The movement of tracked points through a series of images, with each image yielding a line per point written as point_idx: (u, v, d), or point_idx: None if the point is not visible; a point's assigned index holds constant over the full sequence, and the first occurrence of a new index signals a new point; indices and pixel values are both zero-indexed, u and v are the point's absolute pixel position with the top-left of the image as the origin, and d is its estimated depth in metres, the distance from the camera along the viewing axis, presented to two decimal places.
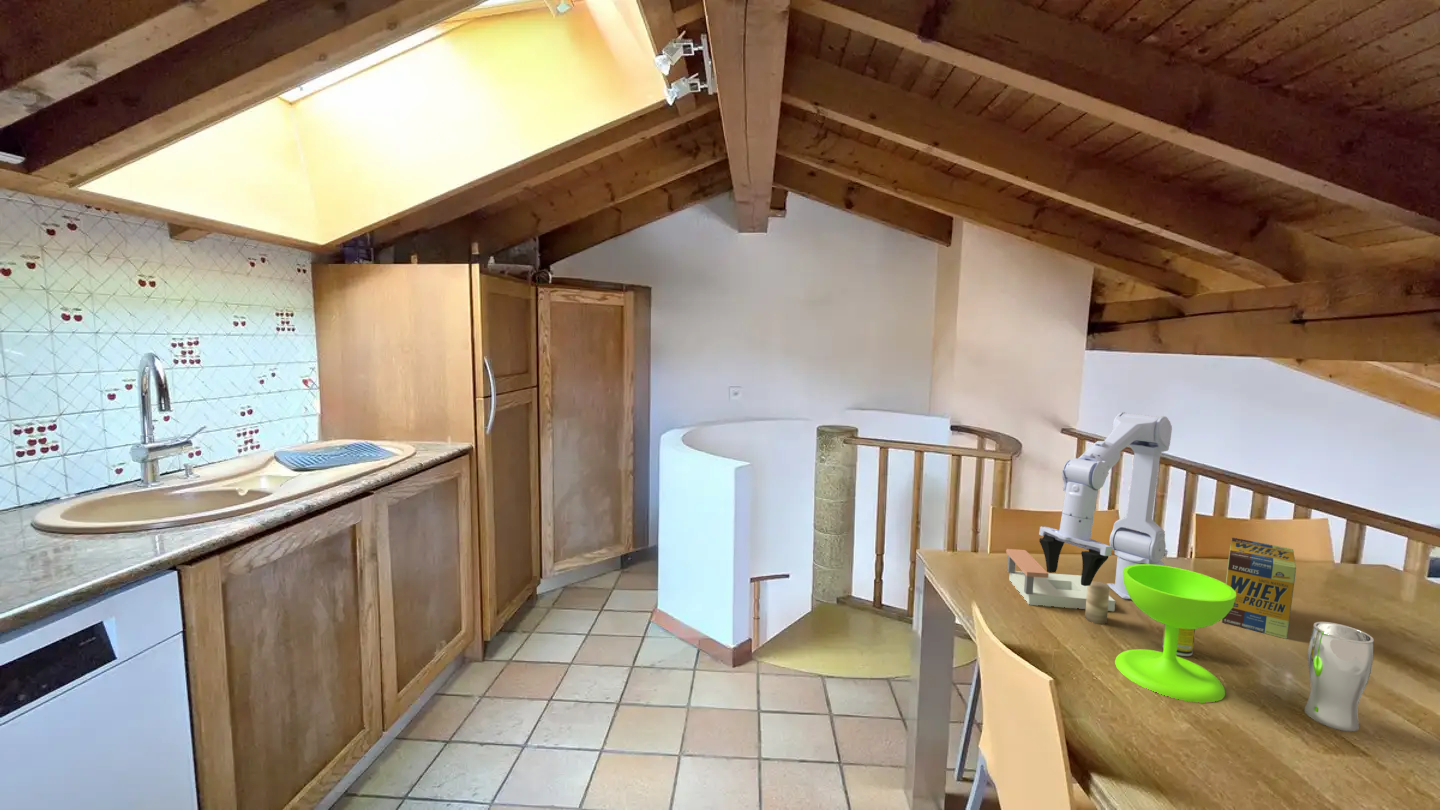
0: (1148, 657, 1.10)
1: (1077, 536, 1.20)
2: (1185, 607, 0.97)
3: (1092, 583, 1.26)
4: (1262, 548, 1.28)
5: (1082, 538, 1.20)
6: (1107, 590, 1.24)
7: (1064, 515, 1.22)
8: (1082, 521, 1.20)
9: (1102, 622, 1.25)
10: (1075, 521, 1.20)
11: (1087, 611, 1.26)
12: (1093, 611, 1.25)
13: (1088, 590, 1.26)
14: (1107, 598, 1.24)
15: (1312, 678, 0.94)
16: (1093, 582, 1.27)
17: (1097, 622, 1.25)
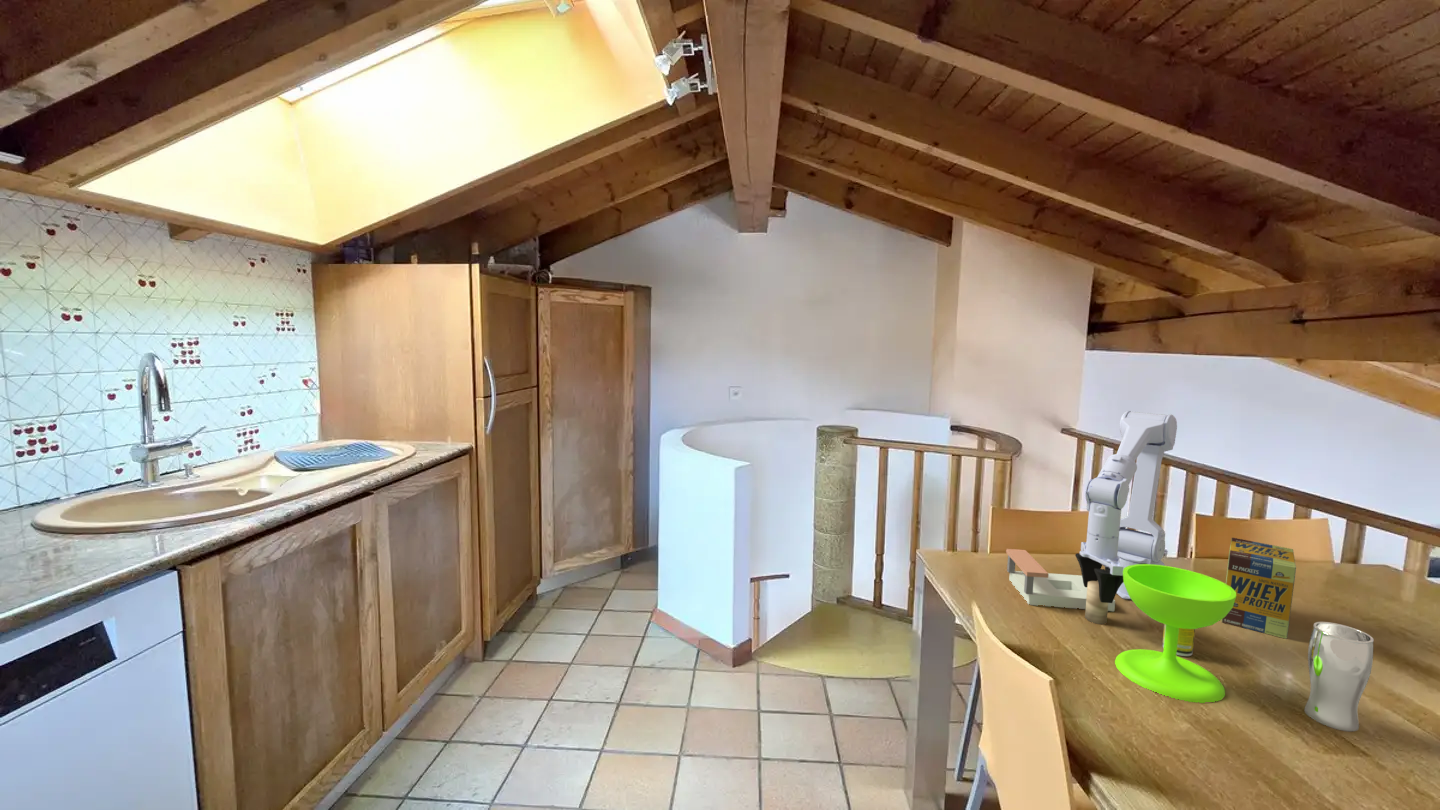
0: (1148, 657, 1.10)
1: (1095, 553, 1.23)
2: (1185, 607, 0.97)
3: (1092, 583, 1.26)
4: (1262, 548, 1.28)
5: (1100, 556, 1.23)
6: None
7: (1087, 532, 1.26)
8: (1099, 539, 1.23)
9: (1102, 622, 1.25)
10: (1092, 539, 1.24)
11: (1087, 611, 1.26)
12: (1093, 611, 1.25)
13: (1088, 590, 1.26)
14: None
15: (1312, 678, 0.94)
16: (1093, 582, 1.27)
17: (1097, 622, 1.25)
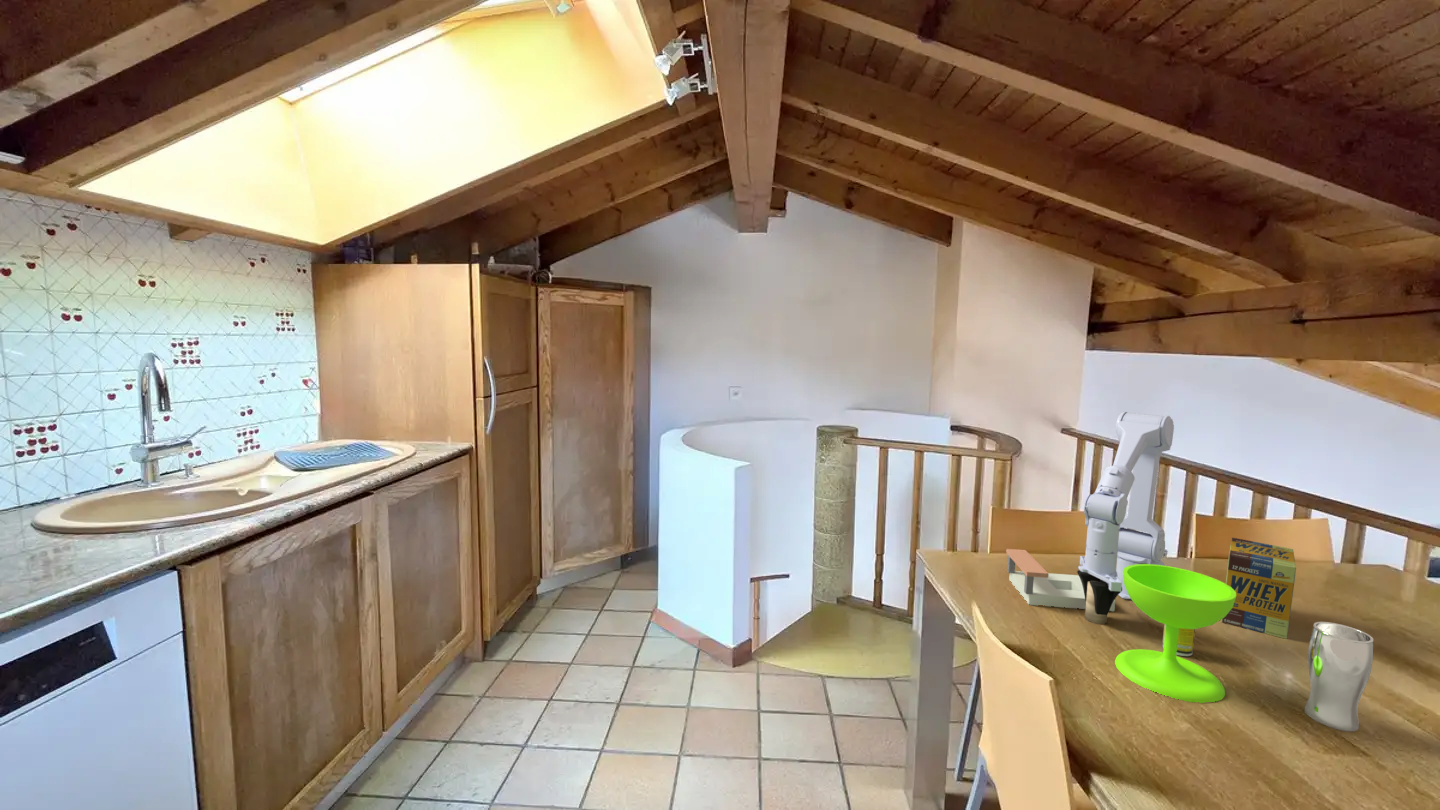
0: (1148, 657, 1.10)
1: (1093, 569, 1.24)
2: (1185, 607, 0.97)
3: None
4: (1262, 548, 1.28)
5: (1099, 571, 1.23)
6: None
7: (1086, 547, 1.26)
8: (1097, 555, 1.23)
9: (1102, 622, 1.25)
10: (1091, 554, 1.24)
11: (1087, 611, 1.26)
12: (1093, 611, 1.25)
13: (1088, 590, 1.26)
14: None
15: (1312, 678, 0.94)
16: None
17: (1097, 622, 1.25)
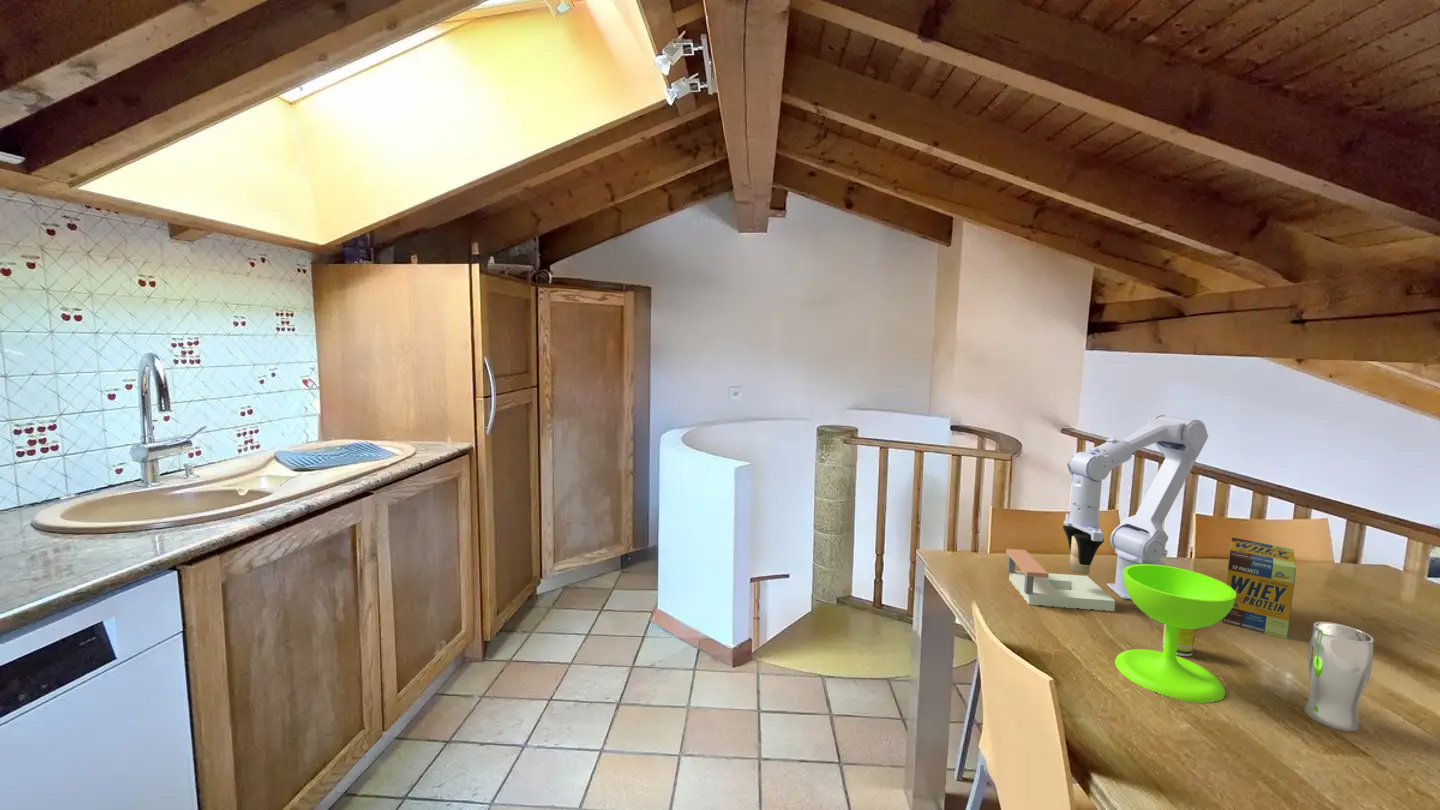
0: (1148, 657, 1.10)
1: (1077, 522, 1.33)
2: (1185, 607, 0.97)
3: None
4: (1262, 548, 1.28)
5: (1082, 524, 1.32)
6: None
7: None
8: (1081, 509, 1.32)
9: (1085, 573, 1.34)
10: (1075, 509, 1.33)
11: (1071, 563, 1.36)
12: (1077, 563, 1.34)
13: (1072, 543, 1.35)
14: None
15: (1312, 678, 0.94)
16: None
17: (1080, 573, 1.34)
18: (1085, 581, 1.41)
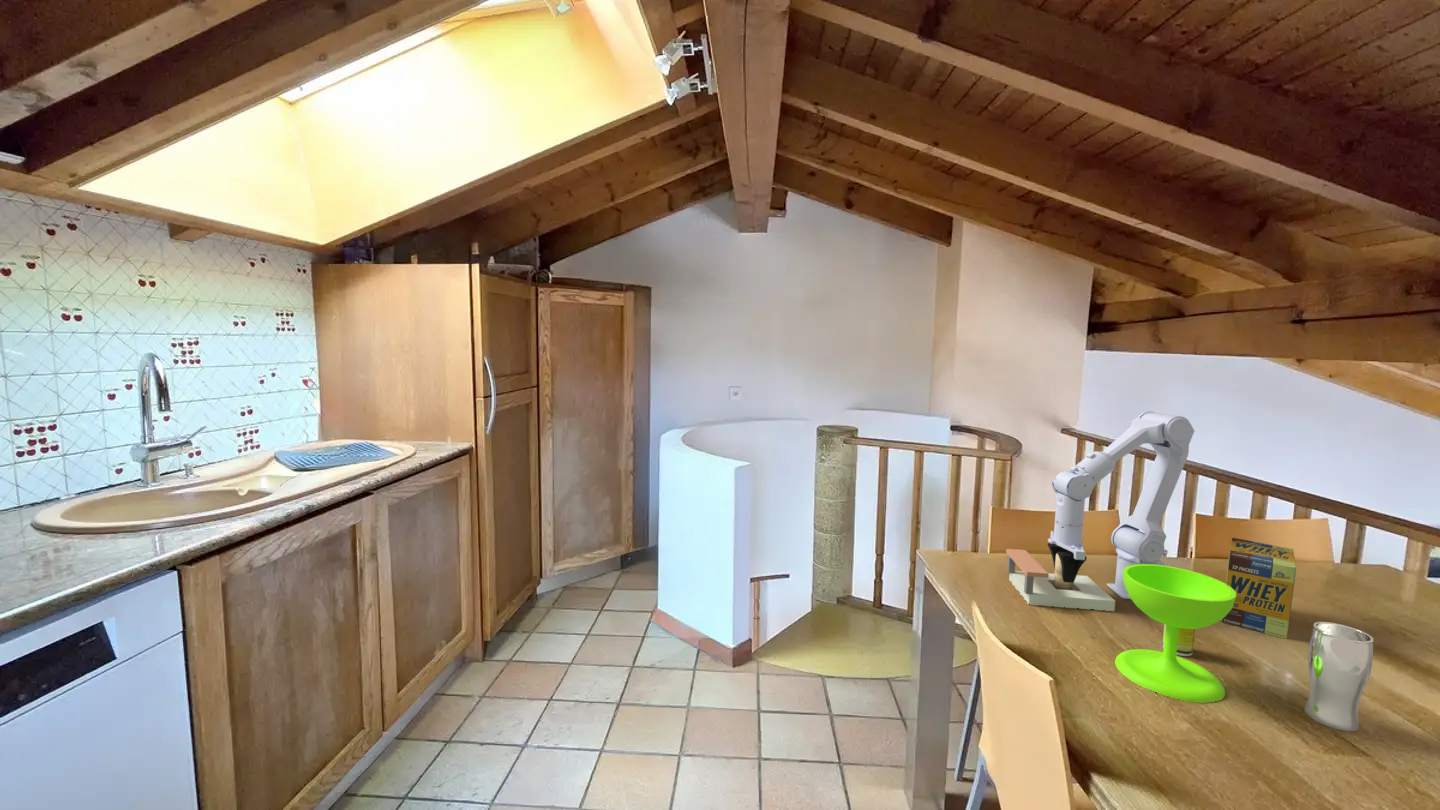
0: (1148, 657, 1.10)
1: (1061, 540, 1.36)
2: (1185, 607, 0.97)
3: None
4: (1262, 548, 1.28)
5: (1066, 543, 1.35)
6: None
7: None
8: (1064, 528, 1.35)
9: None
10: (1059, 527, 1.36)
11: (1055, 580, 1.38)
12: (1060, 580, 1.37)
13: (1056, 561, 1.38)
14: None
15: (1312, 678, 0.94)
16: None
17: None
18: (1085, 581, 1.41)
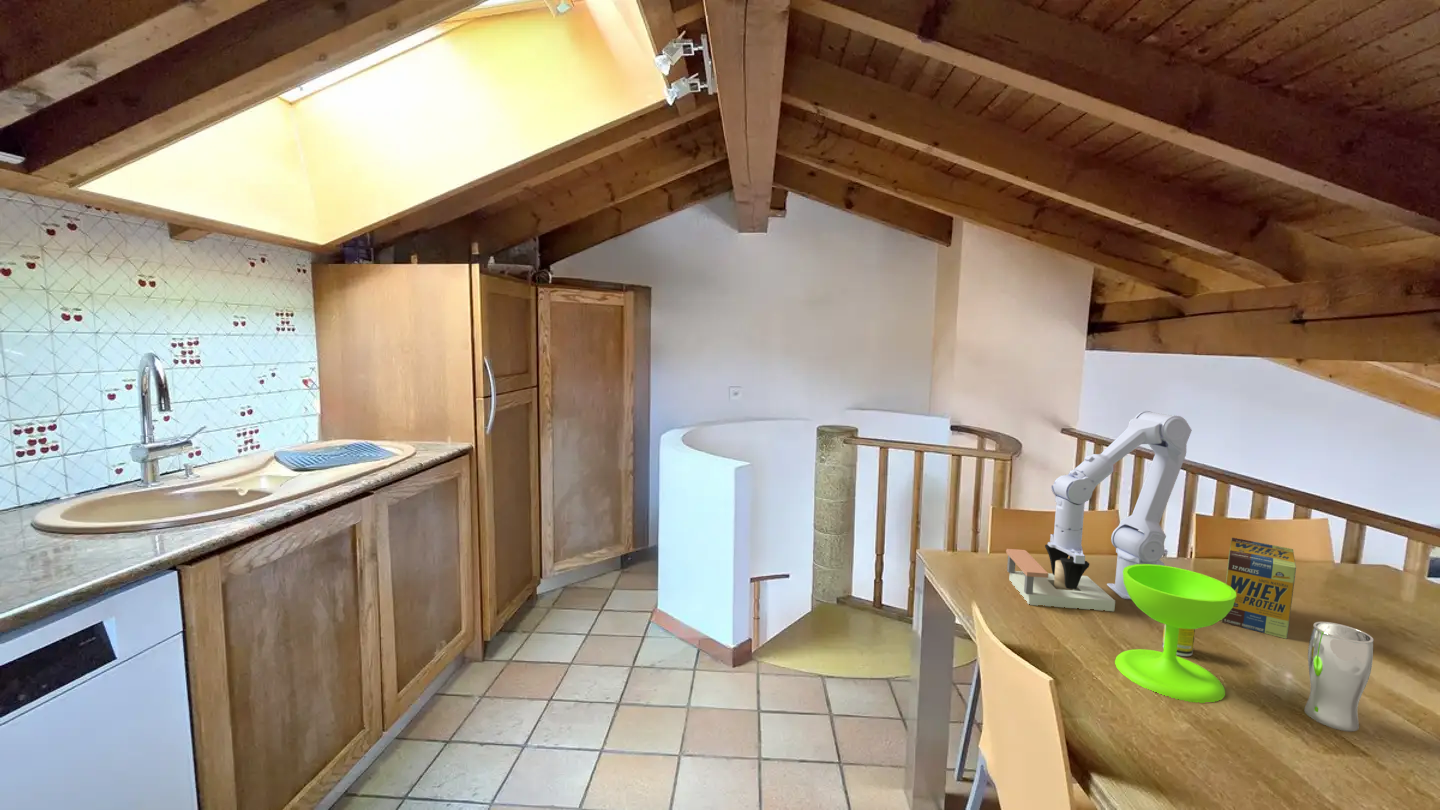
0: (1148, 657, 1.10)
1: (1061, 544, 1.36)
2: (1185, 607, 0.97)
3: (1059, 562, 1.39)
4: (1262, 548, 1.28)
5: (1065, 546, 1.35)
6: None
7: None
8: (1064, 531, 1.35)
9: None
10: (1059, 531, 1.36)
11: (1055, 587, 1.39)
12: (1060, 587, 1.37)
13: (1056, 568, 1.38)
14: None
15: (1312, 678, 0.94)
16: (1060, 561, 1.39)
17: None
18: (1085, 581, 1.41)
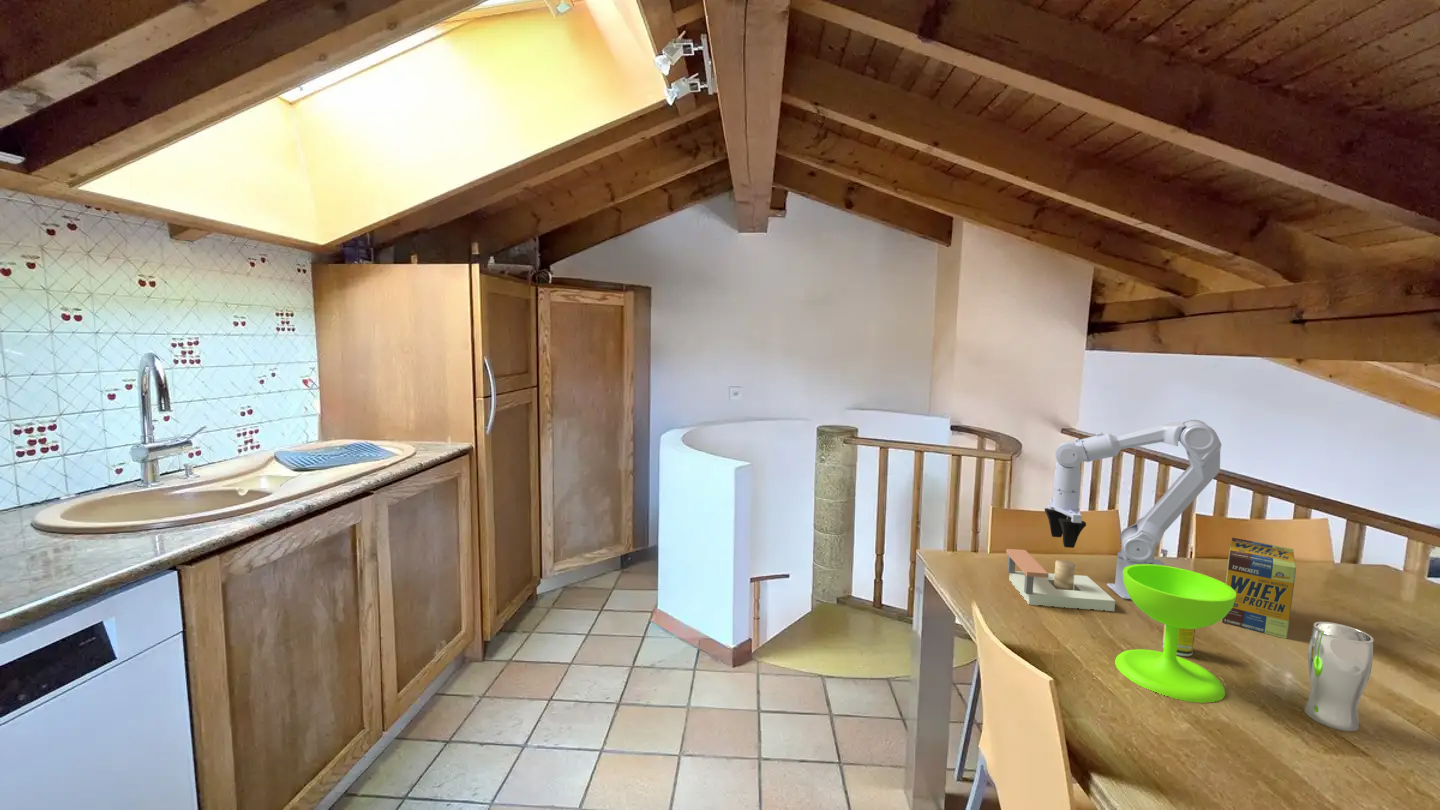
0: (1148, 657, 1.10)
1: (1059, 506, 1.44)
2: (1185, 607, 0.97)
3: (1059, 562, 1.39)
4: (1262, 548, 1.28)
5: (1064, 508, 1.44)
6: (1072, 568, 1.36)
7: (1053, 489, 1.47)
8: (1062, 494, 1.44)
9: None
10: (1057, 494, 1.45)
11: (1055, 587, 1.39)
12: (1060, 587, 1.37)
13: (1055, 568, 1.38)
14: (1072, 575, 1.37)
15: (1312, 678, 0.94)
16: (1060, 561, 1.39)
17: None
18: (1085, 581, 1.41)
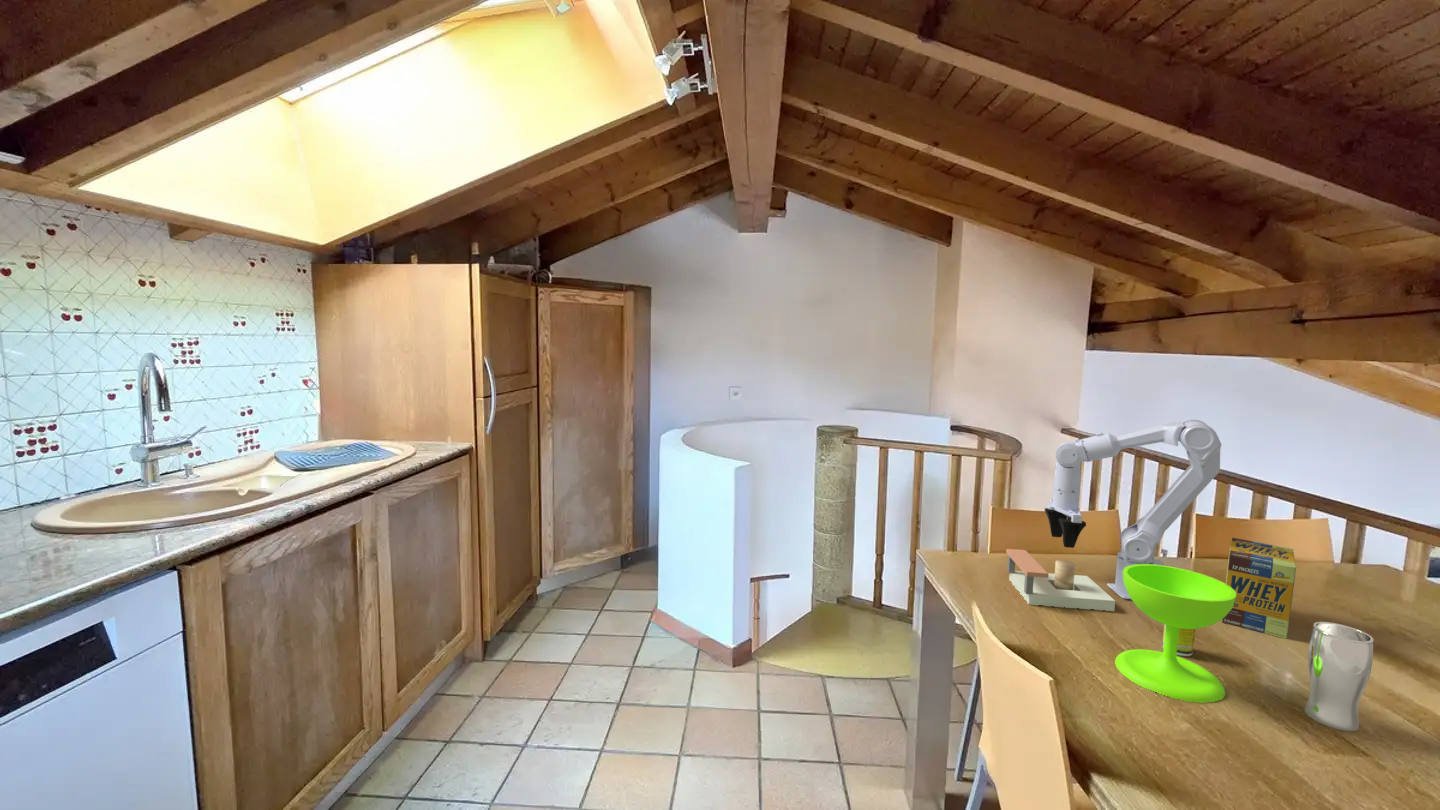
0: (1148, 657, 1.10)
1: (1059, 506, 1.44)
2: (1185, 607, 0.97)
3: (1059, 562, 1.39)
4: (1262, 548, 1.28)
5: (1064, 508, 1.44)
6: (1072, 568, 1.36)
7: (1053, 489, 1.47)
8: (1062, 494, 1.44)
9: None
10: (1057, 494, 1.45)
11: (1055, 587, 1.39)
12: (1060, 587, 1.37)
13: (1056, 568, 1.38)
14: (1072, 575, 1.37)
15: (1312, 678, 0.94)
16: (1060, 561, 1.39)
17: None
18: (1085, 581, 1.41)
